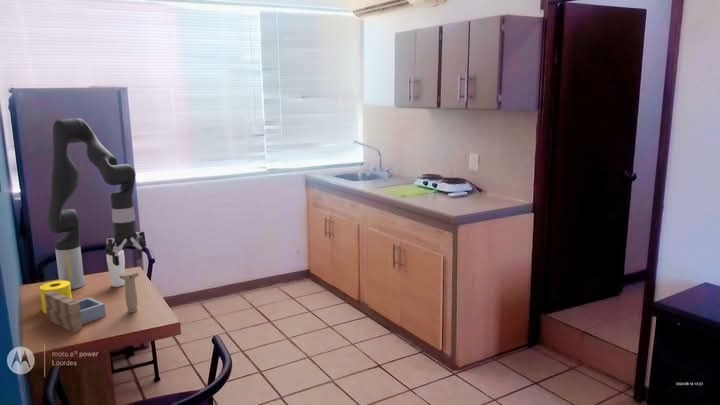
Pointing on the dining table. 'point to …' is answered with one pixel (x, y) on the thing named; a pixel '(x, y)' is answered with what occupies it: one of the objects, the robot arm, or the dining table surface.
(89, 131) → the robot arm
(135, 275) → the handle
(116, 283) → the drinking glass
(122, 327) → the dining table surface
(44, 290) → the tape roll
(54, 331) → the dining table surface
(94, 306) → the box
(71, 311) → the block
